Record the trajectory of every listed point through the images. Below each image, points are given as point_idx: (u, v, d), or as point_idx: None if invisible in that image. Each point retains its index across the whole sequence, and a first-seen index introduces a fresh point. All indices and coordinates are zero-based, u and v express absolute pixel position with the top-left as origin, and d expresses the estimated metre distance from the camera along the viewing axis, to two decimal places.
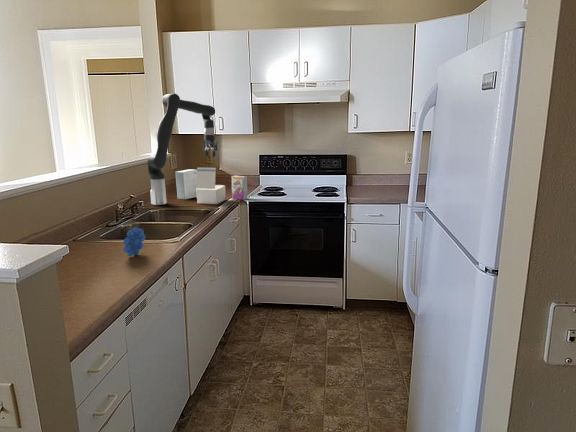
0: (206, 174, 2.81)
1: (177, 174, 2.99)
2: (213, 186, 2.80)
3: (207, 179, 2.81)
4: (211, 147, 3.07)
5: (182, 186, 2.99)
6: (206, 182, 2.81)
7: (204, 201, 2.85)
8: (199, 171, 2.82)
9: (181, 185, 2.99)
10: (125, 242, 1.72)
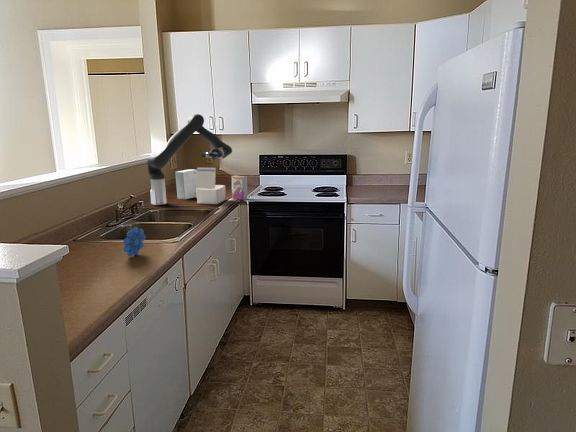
0: (206, 174, 2.81)
1: (177, 174, 2.99)
2: (213, 186, 2.80)
3: (207, 179, 2.81)
4: (217, 152, 2.88)
5: (182, 186, 2.99)
6: (206, 182, 2.81)
7: (204, 201, 2.85)
8: (199, 171, 2.82)
9: (181, 185, 2.99)
10: (125, 242, 1.72)
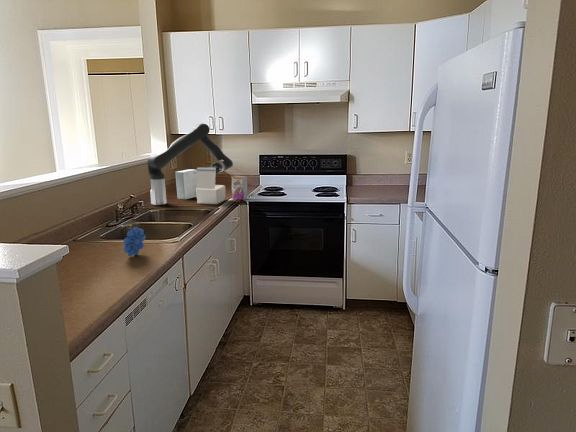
0: (206, 174, 2.81)
1: (177, 174, 2.99)
2: (213, 186, 2.80)
3: (207, 179, 2.81)
4: (214, 167, 2.90)
5: (182, 186, 2.99)
6: (206, 182, 2.81)
7: (204, 201, 2.85)
8: (199, 171, 2.82)
9: (181, 185, 2.99)
10: (125, 242, 1.72)
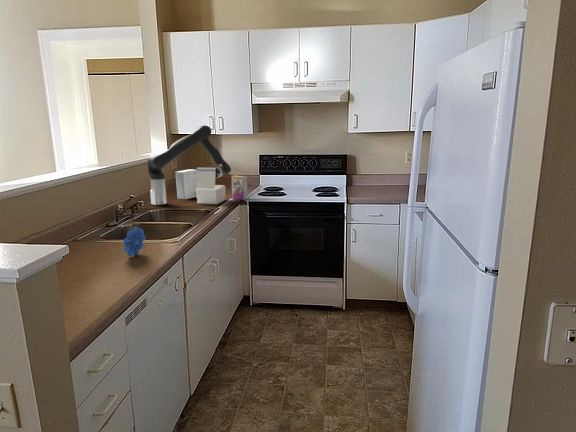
0: (206, 174, 2.81)
1: (177, 174, 2.99)
2: (213, 186, 2.80)
3: (207, 179, 2.81)
4: None
5: (182, 186, 2.99)
6: (206, 182, 2.81)
7: (204, 201, 2.85)
8: (199, 171, 2.82)
9: (181, 185, 2.99)
10: (125, 242, 1.72)
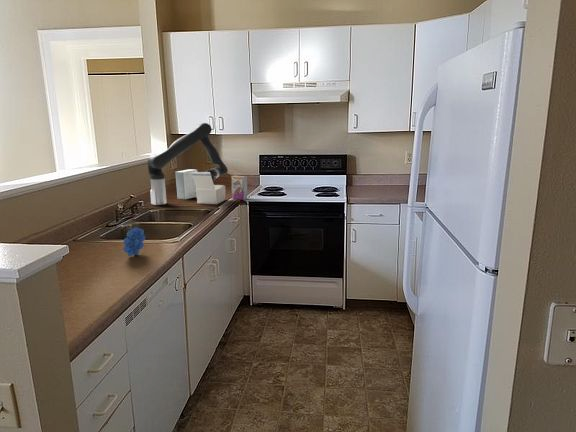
0: (202, 178, 2.75)
1: (177, 174, 2.99)
2: (212, 187, 2.79)
3: (204, 181, 2.77)
4: None
5: (182, 186, 2.99)
6: (204, 184, 2.78)
7: (204, 201, 2.85)
8: (194, 175, 2.75)
9: (181, 185, 2.99)
10: (125, 242, 1.72)
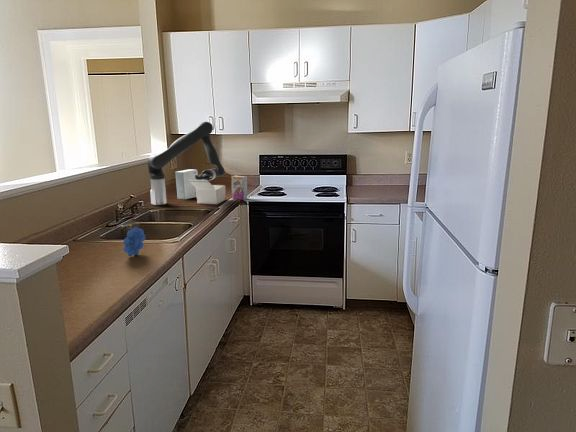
0: (200, 183, 2.73)
1: (177, 174, 2.99)
2: (212, 188, 2.79)
3: (203, 185, 2.76)
4: (204, 175, 2.74)
5: (182, 186, 2.99)
6: (204, 186, 2.78)
7: (204, 201, 2.85)
8: (192, 182, 2.72)
9: (181, 185, 2.99)
10: (125, 242, 1.72)
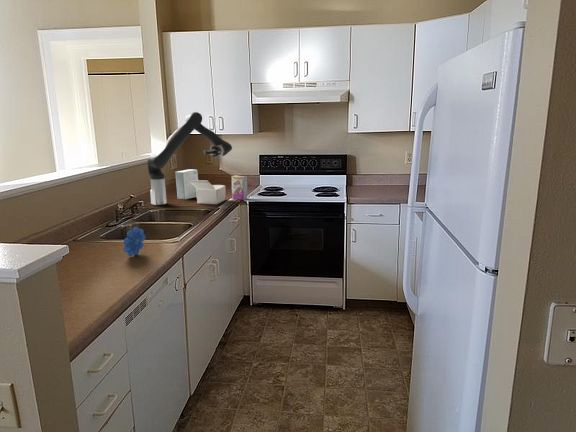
0: (200, 183, 2.73)
1: (177, 174, 2.99)
2: (212, 188, 2.79)
3: (203, 185, 2.76)
4: (213, 150, 2.86)
5: (182, 186, 2.99)
6: (204, 186, 2.78)
7: (204, 201, 2.85)
8: (192, 182, 2.72)
9: (181, 185, 2.99)
10: (125, 242, 1.72)
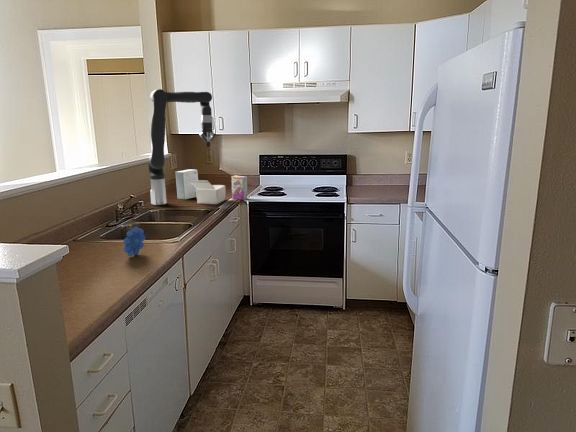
0: (200, 183, 2.73)
1: (177, 174, 2.99)
2: (212, 188, 2.79)
3: (203, 185, 2.76)
4: (210, 137, 2.93)
5: (182, 186, 2.99)
6: (204, 186, 2.78)
7: (204, 201, 2.85)
8: (192, 182, 2.72)
9: (181, 185, 2.99)
10: (125, 242, 1.72)
